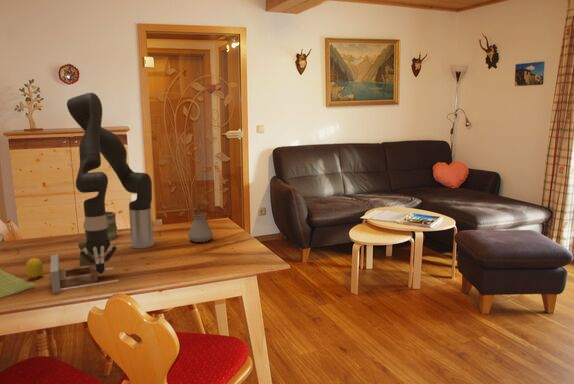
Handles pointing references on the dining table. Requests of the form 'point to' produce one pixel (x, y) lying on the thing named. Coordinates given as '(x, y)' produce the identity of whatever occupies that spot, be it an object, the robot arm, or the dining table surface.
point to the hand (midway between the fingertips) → (100, 272)
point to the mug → (110, 225)
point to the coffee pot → (200, 227)
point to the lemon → (34, 267)
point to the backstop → (56, 276)
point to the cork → (82, 260)
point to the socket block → (78, 276)
